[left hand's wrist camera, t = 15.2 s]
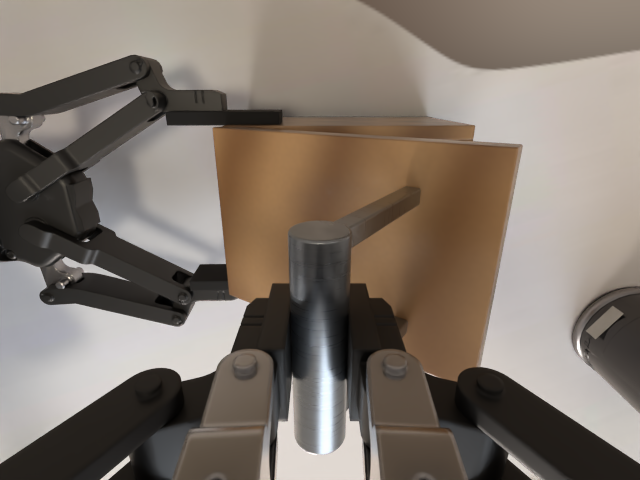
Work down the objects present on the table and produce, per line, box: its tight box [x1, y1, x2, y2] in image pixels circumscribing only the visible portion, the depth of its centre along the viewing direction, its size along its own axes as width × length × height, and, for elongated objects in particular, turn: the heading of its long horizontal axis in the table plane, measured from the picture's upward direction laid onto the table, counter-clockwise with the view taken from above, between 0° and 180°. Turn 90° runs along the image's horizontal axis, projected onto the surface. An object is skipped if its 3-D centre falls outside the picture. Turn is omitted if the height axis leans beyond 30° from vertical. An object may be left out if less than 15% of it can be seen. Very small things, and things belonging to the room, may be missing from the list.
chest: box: [223, 117, 475, 141], centre depth 27 cm, size 14×10×9 cm
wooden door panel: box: [213, 126, 523, 455], centre depth 15 cm, size 15×10×8 cm
